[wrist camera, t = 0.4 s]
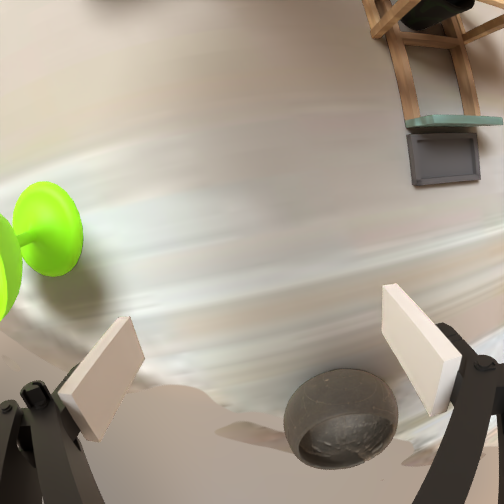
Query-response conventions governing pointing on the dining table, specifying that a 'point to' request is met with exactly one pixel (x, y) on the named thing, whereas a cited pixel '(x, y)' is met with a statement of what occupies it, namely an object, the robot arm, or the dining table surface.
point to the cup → (434, 12)
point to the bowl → (340, 419)
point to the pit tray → (443, 158)
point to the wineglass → (38, 238)
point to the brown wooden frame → (407, 3)
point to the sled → (462, 69)
